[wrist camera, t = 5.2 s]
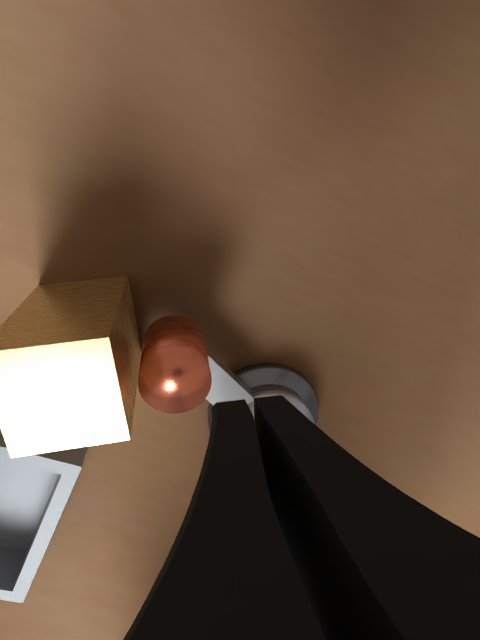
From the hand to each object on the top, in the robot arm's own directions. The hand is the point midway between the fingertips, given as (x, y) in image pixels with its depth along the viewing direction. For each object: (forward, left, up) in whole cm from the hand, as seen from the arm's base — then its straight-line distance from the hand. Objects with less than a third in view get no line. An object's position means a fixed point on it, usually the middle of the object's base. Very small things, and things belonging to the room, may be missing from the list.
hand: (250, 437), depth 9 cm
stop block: (-3, +4, -9) cm, 11 cm away
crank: (-3, -2, -9) cm, 9 cm away
